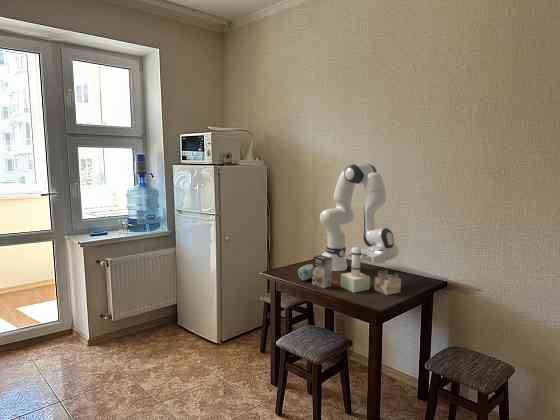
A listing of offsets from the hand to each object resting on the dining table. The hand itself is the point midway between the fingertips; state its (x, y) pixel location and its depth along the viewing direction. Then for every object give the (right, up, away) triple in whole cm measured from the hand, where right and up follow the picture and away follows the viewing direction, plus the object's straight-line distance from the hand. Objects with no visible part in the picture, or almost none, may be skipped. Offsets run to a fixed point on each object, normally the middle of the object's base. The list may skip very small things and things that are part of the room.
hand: (354, 256), depth 208 cm
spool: (-24, -15, +18) cm, 34 cm away
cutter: (-6, -17, +6) cm, 19 cm away
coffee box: (-17, -17, +6) cm, 25 cm away
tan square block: (+17, -18, -2) cm, 25 cm away
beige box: (+1, -17, +3) cm, 17 cm away
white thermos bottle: (+1, -10, +2) cm, 10 cm away
